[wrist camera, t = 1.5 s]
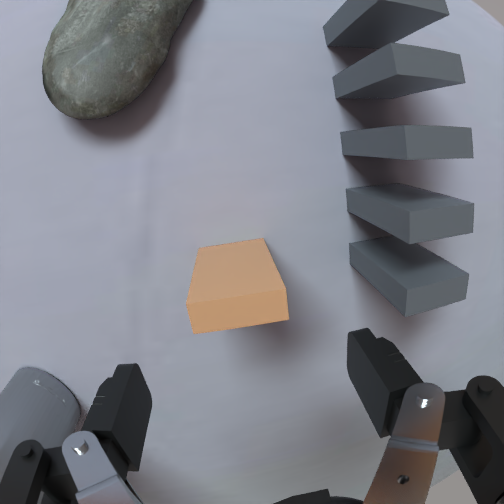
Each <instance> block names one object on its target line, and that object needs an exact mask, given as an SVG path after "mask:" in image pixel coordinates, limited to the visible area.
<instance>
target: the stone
mask: <svg viewBox="0 0 504 504" xmlns="http://www.w3.org/2000/svg"><path fill="white" fill-rule="evenodd" d="M192 1H193V0H69V2H68V5H67V9H66V11H65V13H64V15H63V16H62V18H61V19H60V21H59V22H58V23H57V25H56V26H55V28H54V29H53V31H52V33H51V37H50V40H49V42H48V45H47V47H46V50H45V54H44V59H43V66H42V74H43V85H44V89H45V92H46V94H47V96H48V98H49V99H50V101H51V102H52V104H53V105H54V106H55V107H56V108H57V109H58V110H59V111H61V112H62V113H64V114H65V115H67V116H70V117H73V118H76V119H95V118H102V117H105V116H107V117H108V116H109V115H112V114H114V113H116V112H117V111H119V110H121V109H122V108H123V107H125V106H126V105H128V104H129V103H131V102H132V101H133V100H135V99H136V98H137V97H138V96H139V95H140V94H141V93H142V92H143V91H144V90H145V88H146V87H147V86H148V84H149V83H150V82H151V80H152V79H153V77H154V76H155V75H156V73H157V71H158V69H159V68H160V66H161V65H162V64H163V62H164V60H165V59H166V57H167V54H168V50H169V47H170V40H171V38H172V36H173V34H174V32H175V30H176V29H177V27H178V25H179V24H180V23H181V21H182V19H183V16H184V14H185V12H186V11H187V9H188V7H189V6H190V4H191V3H192Z"/></svg>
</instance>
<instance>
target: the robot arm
mask: <svg viewBox="0 0 504 504" xmlns="http://www.w3.org/2000/svg"><path fill="white" fill-rule="evenodd" d="M347 369H348V374H349V377H350V379H351V381H352V383H353V385H354V387H355V389H356V391H357V393H358V395H359V397H360V399H361V401H362V403H363V405H364V407H365V409H366V411H367V413H368V415H369V417H370V419H371V421H372V423H373V425H374V427H375V429H376V431H377V433H378V435H379V437H380V438H383V437H386V436H389V435H390V436H391V438H390V439H389V441H388V444H387V447H386V449H385V452H384V455H383V457H382V460H381V462H380V465H379V467H378V470H377V472H376V474H375V477H374V479H373V482H372V484H371V486H370V488H369V491H368V493H367V495H366V497H365V499H364V501H361V500H358V499H354V498H348V497H337V496H334V497H330V495H329V491H328V489H324V490H320V491H315V492H311V493H306V494H301V495H296V496H292V497H289V498H287V499H284V500H281V501H279V502H276V503H273V504H425V501H426V498H427V495H428V491H429V488H430V484H431V481H432V477H433V473H434V469H435V465H436V461H437V457H438V452H439V450H444V449H449V450H450V452H451V454H452V455H453V457H454V459H455V461H456V463H457V465H458V466H459V468H460V470H461V472H462V474H463V476H464V478H465V480H466V482H467V483H468V485H469V487H470V489H471V491H472V493H473V495H474V497H475V499H476V501H477V503H478V504H504V387H503V386H502V385H501V384H500V382H499V381H498V380H496V379H495V378H493V377H490V376H477V377H474V378H472V379H471V380H470V381H469V382H468V384H467V387H466V389H465V390H458V391H451V392H443V390H442V389H441V388H440V387H438V386H437V385H435V384H432V383H424V382H423V381H422V379H421V378H420V377H419V376H418V374H417V373H416V372H415V370H414V369H413V368H412V366H411V365H410V364H409V363H408V361H407V360H405V358H404V356H403V355H402V354H401V353H400V352H399V350H398V349H397V347H396V346H395V345H394V344H393V343H392V342H390V341H389V340H387V339H385V338H383V337H381V338H377V339H376V337H375V336H374V335H373V333H372V332H371V331H370V329H369V328H364V329H360V330H356V331H351V332H349V333H348V343H347ZM151 409H152V398H151V393H150V391H149V389H148V386H147V384H146V381H145V379H144V377H143V374H142V372H141V369H140V367H139V365H138V364H136V363H135V364H120V365H118V366H117V367H116V370H115V372H114V374H113V377H111V378H107V379H106V380H105V381H104V382H103V383H102V384H101V385H100V387H99V389H98V391H97V394H96V397H95V398H94V401H93V405H91V408H90V410H89V413H88V415H87V417H86V420H85V422H84V425H83V427H82V430H81V431H78V432H75V433H73V432H74V430H75V427H76V425H77V423H78V420H79V418H80V408H79V405H78V403H77V401H76V399H75V397H74V396H73V395H72V393H71V392H70V391H69V390H68V389H67V388H66V387H65V386H64V385H63V384H62V383H61V382H60V381H59V380H57V379H56V378H54V377H53V376H51V375H50V374H48V373H46V372H44V371H42V370H39V369H36V368H30V367H26V368H21V369H19V370H18V371H17V372H16V373H15V375H14V376H13V377H12V379H11V380H10V381H9V383H8V384H7V385H6V387H5V388H4V390H3V391H2V392H1V394H0V504H144V502H143V501H142V500H141V498H140V497H139V496H138V494H137V493H136V491H135V490H134V488H133V487H132V485H131V484H130V482H129V481H128V480H127V478H126V477H127V472H128V471H139V467H140V462H141V456H142V451H143V446H144V442H145V437H146V432H147V427H148V423H149V418H150V413H151Z"/></svg>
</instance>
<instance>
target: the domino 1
mask: <svg viewBox="0 0 504 504" xmlns="http://www.w3.org/2000/svg"><path fill="white" fill-rule="evenodd" d="M186 306H187V310H188V314H189V318H190V322H191V326H192V330H193V333H194V334H198V333H206V332H213V331H220V330H227V329H234V328H241V327H247V326H254V325H260V324H266V323H272V322H278V321H284V320H289V315H288V304H287V294H286V288H285V285H284V283H283V281H282V279H281V276H280V274H279V272H278V270H277V268H276V265H275V263H274V261H273V259H272V257H271V254H270V252H269V250H268V248H267V246H266V243H265V241H264V239H263V238H261V239H255V240H248V241H242V242H235V243H229V244H222V245H216V246H209V247H203V248H199V250H198V254H197V258H196V262H195V267H194V271H193V275H192V280H191V284H190V288H189V293H188V297H187V302H186Z"/></svg>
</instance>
